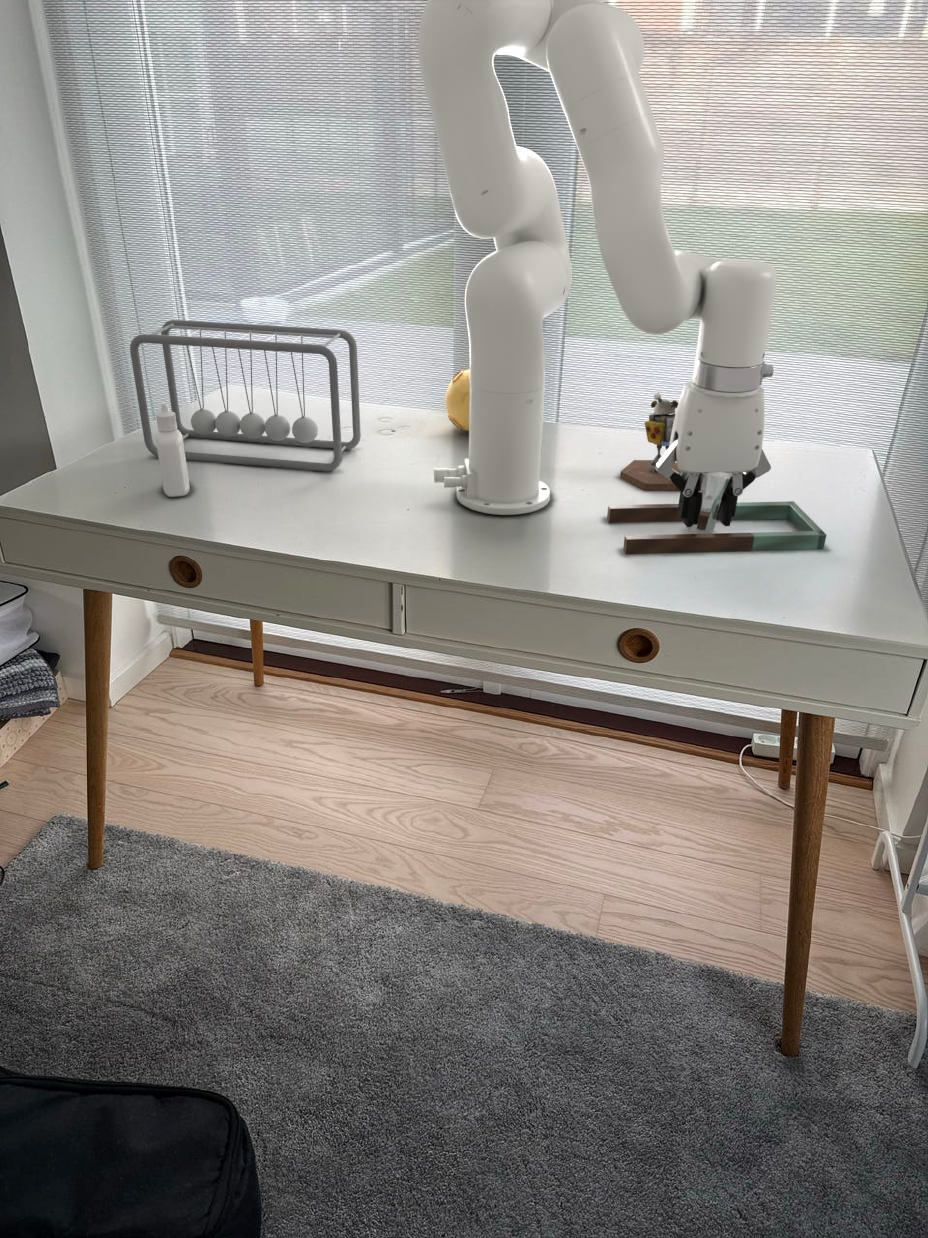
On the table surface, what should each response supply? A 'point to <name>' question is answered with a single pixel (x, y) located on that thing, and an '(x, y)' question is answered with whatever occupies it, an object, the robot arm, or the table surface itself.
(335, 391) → the newton's cradle
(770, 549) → the slide track
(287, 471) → the table surface
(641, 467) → the robot figurine
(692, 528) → the milkshake
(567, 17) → the robot arm
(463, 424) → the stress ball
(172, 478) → the eye dropper bottle
